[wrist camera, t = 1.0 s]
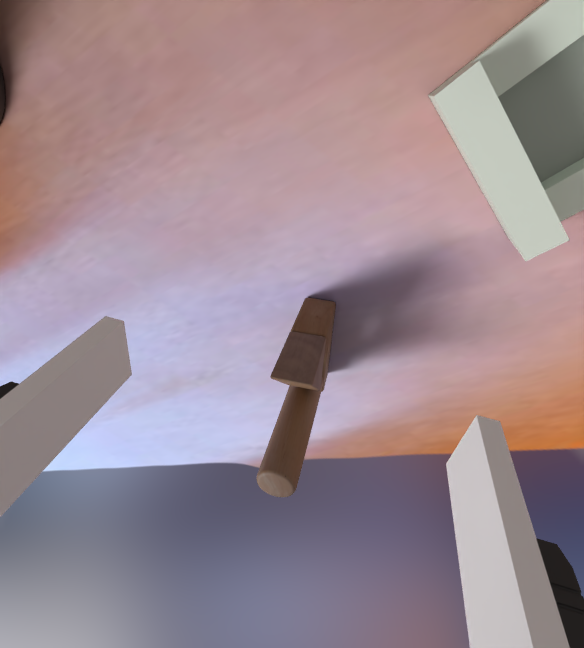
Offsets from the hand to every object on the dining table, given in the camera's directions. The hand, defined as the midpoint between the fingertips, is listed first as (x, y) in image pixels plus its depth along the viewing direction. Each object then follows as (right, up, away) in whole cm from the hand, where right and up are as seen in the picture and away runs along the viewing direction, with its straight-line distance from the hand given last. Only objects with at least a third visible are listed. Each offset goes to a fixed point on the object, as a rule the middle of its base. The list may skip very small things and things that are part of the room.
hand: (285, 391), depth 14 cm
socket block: (+21, +19, +14) cm, 31 cm away
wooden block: (+3, +1, +31) cm, 31 cm away
